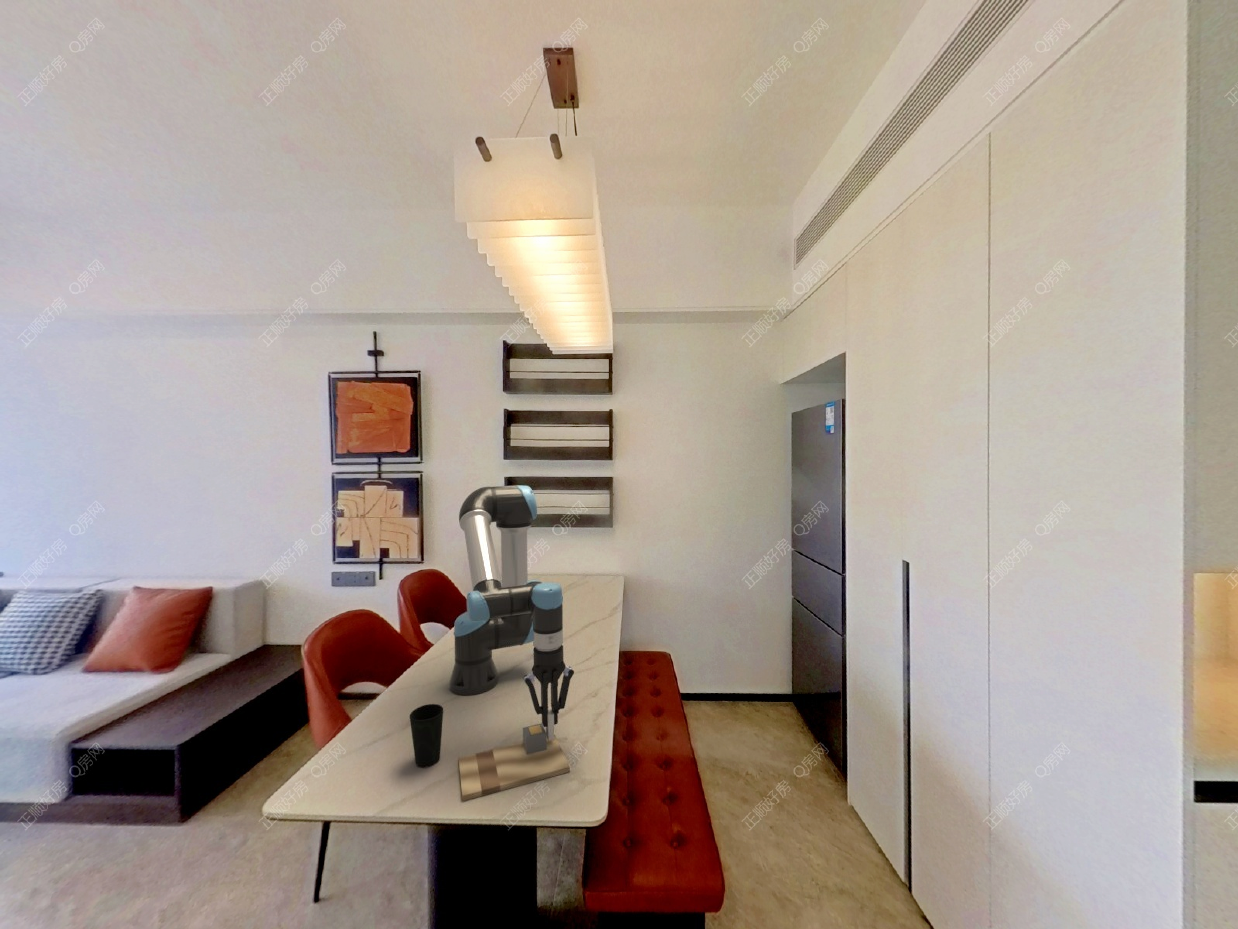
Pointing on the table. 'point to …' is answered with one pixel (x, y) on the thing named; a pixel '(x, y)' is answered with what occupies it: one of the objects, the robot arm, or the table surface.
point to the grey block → (534, 739)
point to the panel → (509, 768)
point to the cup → (427, 734)
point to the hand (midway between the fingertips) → (550, 737)
